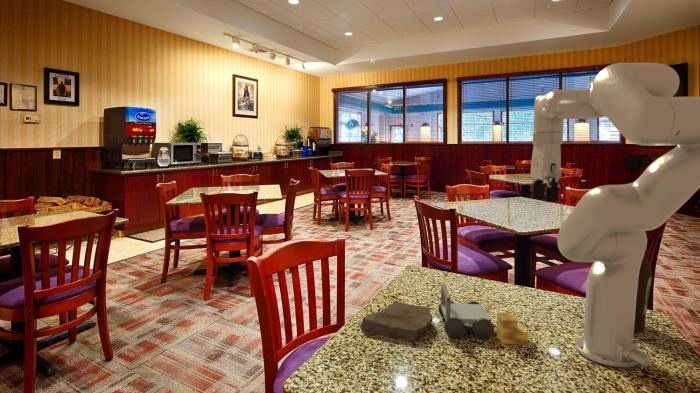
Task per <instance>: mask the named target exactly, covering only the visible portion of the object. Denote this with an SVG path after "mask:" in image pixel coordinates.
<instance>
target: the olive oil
mask: <svg viewBox="0 0 700 393" xmlns="http://www.w3.org/2000/svg"><path fill="white" fill-rule="evenodd" d="M652 270H653V269H652V266H651V263H650V261H649V260H648V259H647V258H646V256H644V257H643V260H642V263H641V267H640V271H639V278H638V288H637V298H636V310H635V323H634V334H637V333H639V334H640V333H642V332H643V331H645V327H646V326H645V325H646V317H647V313H648V312H647V310H648V302H649V297H650V289H651V283H652V276H653V271H652Z"/></svg>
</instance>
